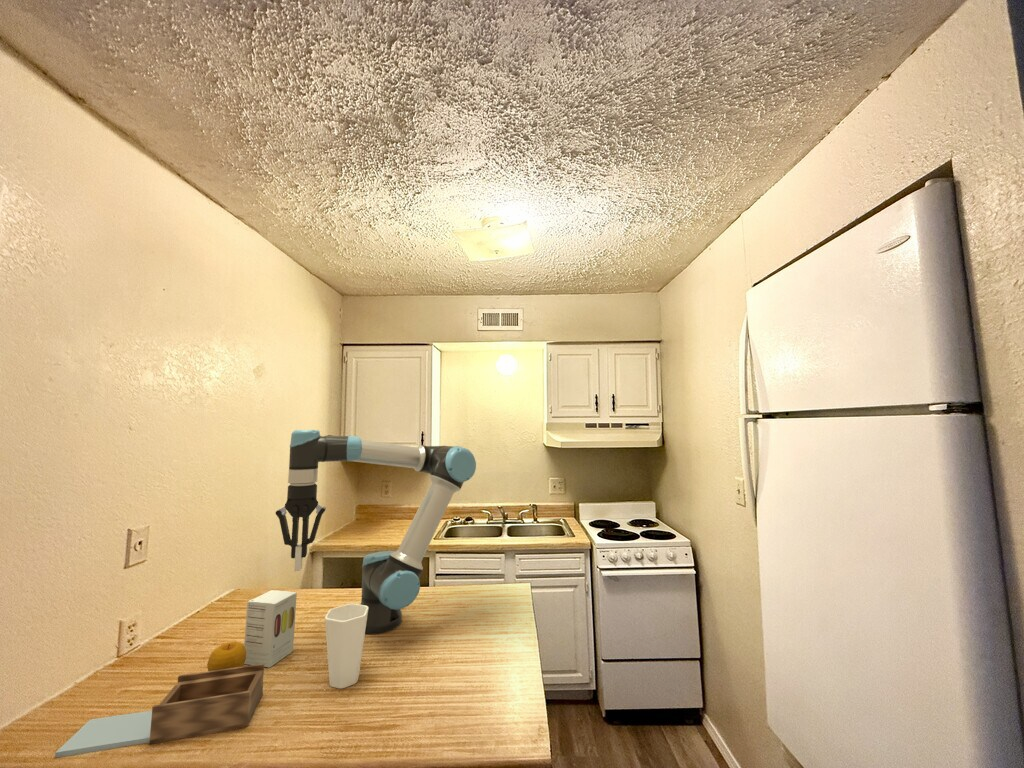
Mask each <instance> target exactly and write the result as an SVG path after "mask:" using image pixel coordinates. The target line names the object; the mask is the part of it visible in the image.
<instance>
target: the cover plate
mask: <svg viewBox="0 0 1024 768" xmlns="http://www.w3.org/2000/svg"><path fill="white" fill-rule="evenodd" d="M151 718H152V710H148V711H147V710H145V711H139V712H132V713H125V714H118V715H112V716H105V717H98V718H90V719H89V720H88V721H86V723H84V725H83V726H82V727H80V729H78V730H77V731H76V733H74V734H73V735H72V736H71V737H70V738H69V739H68V740H67V741H66V742H65V743H64V744H63V745H61V747H60V748H59V749H58V750H56V751H54V752H55V754H54V758H55V759H56V758H62V757H69V756H75V755H81V754H87V753H92V752H98V751H106V750H112V749H118V748H125V747H130V746H135V745H140V744H141V745H142V744H149V742H150V730H151Z"/></svg>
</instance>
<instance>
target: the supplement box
mask: <svg viewBox="0 0 1024 768" xmlns="http://www.w3.org/2000/svg"><path fill="white" fill-rule="evenodd" d="M297 594H298V593H297V592H296V591H284V590H278V589H277V590H275V589H271V590H269V591H266V592H265V593H263V594H261V595H259V596H256V597H254V598H252V599H249V600H248V601H247V602H246V603H247V604H246V613H245V614H246V617H245V631H244V643H243V645H244V646H245V649H246V660H245V663H244V665H248V666H250V665H257V664H264V668H271V667H273V666H274V665H276V664H277V663H279V662H280V661H281V660H283V659H284V658H285V657H287V656H288V655H289V654H291V653H292V652H294V644H295V641H294V640H295V627H296V626H295V625H296V613H297V612H296V610H297Z"/></svg>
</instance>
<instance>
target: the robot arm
mask: <svg viewBox="0 0 1024 768" xmlns="http://www.w3.org/2000/svg"><path fill="white" fill-rule="evenodd" d="M290 436H291V437H290V445H289V463H288V474H287V475H288V478H287V483H288V484H289V485H288V486H287V497H286V498H287V499H286V502H285V504H284V506H283V507H282V508H279V509H277V510H276V511H275V515H276V516H277V518H278V520H279V524H280V529H281V534H282V538H283V543H284V546H290V547H291V550H290V558H291V559H294V571H293V572H301V571H302V569H303V559H304V558H306V557H307V555H308V545H310V544H313V543H314V541H316V540H315V539H316V536H317V533H318V529H319V526H320V524H321V519H322V517H323V514H324V513H325V511H326V510H327V507H326V506H322V505H320V504H319V501H318V498H317V496H318V495H317V494H318V484H317V482H318V473H319V463H324V462H325V463H326V462H348V463H349V462H356V463H357V462H358V463H365V464H373V465H374V464H375V465H383V466H391V467H399V468H409V469H414V471H415V472H419V473H425V474H429V478H430V482H431V483H430V485H429V486H428V488H427V491H426V492H425V495H424V496H423V499H422V500H421V502H420V504H419V506H418V509H417V511H416V513H415V514H414V517H413V519H412V520H411V522H410V524H409V526H408V528H407V531H406V532H405V535H404V536H403V538H402V540H401V543H400V544H399V547H398V548H397V550H384V551H378V552H372V553H369V554H366V555H365V556H364V557H363V559H362V560H363V561H362V565H361V568H362V569H361V570H362V573H361V574H362V575H361V576H362V577H361V601H360V604H359V605H365V606H368V607H369V608H368V615H367V622H366V629H365V635H375V634H376V635H377V634H383V633H388V632H390V631H393V630H394V629H396V628H398V627H399V626H400V625H401V624H402V621H403V620H402V619H403V616H402V615H403V614H402V609H404V608H406V607H408V606H410V605H411V604H412V603H413V602H414V601H415V600H416V599H417V597H418V595H419V594H420V590H421V583H420V582H421V581H420V577H421V574H422V573H423V569H424V567H423V564H422V561H423V559H424V557H425V554H426V553H427V550H428V548H429V546H430V544H431V542H432V540H433V537H434V536H435V534H436V531H437V530H438V527H439V525H440V523H441V520H442V519H443V518H444V515H445V512H446V511H447V508H448V506H449V505H450V502H451V500H452V498H453V495H454V493H457V492H459V491H460V490H461V489H462V487H463V484H464V483H465V482H467V481H469V480H470V479H472V478H473V476H474V475H475V472H476V469H477V462H476V458H475V456H474V454H473V452H472V451H471V450H469V449H468V448H466V447H463V446H459V445H455V446H451V445H424V444H423V445H421V444H420V445H418V446H416V447H415V446H409V445H402V444H395V443H387V442H380V441H372V440H367V439H366V440H365V439H361V437H360V436H356V435H354V436H353V435H331V434H328V435H324V436H323V435H321V434H320V430H319V429H295V430H293V431H292V433H291V435H290ZM315 510H316V511H315ZM314 511H315V512H316V516H315V519H314V522H313V526H312V529H311V532H310V535H309V523H310V522H309V521H310V516H311V515H312V514H313V512H314ZM287 512H288V514H289V515H290V516H291V517H292V526H291V527H292V528H291V534H290V529H289V528H290V527H289V525H288V520H287ZM300 518H302V525H301V526H302V527H301V528H302V530H301V531H302V532H301V544H298V543H299V529H300V527H299V526H300Z"/></svg>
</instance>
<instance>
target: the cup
mask: <svg viewBox="0 0 1024 768" xmlns="http://www.w3.org/2000/svg"><path fill="white" fill-rule="evenodd" d="M368 608H369V607H368V606H365V605H360V604H359V603H347V604H342V605H340V606H336V607H331V608H330V609H329V610H328V611H327V613H326V615H325V617H324V624H325V637H326V638H325V640H326V641H325V642H326V654H327V668H328V683H329V686H330V687H332V688H337V689H345V688H347V687H350V686H353V685H355V684H356V683H357V682H358V681H359V677H360V671H361V664H362V663H361V662H362V656H363V648H364V644H365V643H364V642H365V635H366V634H365V629H366V622H367V615H368Z"/></svg>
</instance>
